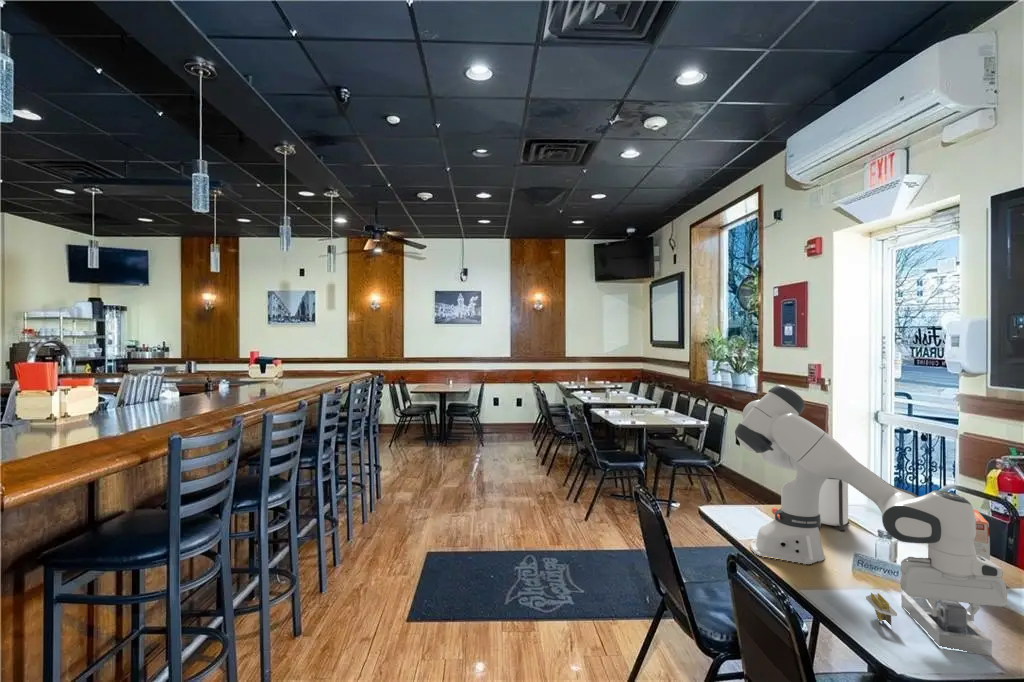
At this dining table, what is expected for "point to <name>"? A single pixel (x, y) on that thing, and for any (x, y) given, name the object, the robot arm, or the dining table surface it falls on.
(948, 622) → the grey rectangular block
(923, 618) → the grey rectangular tray
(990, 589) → the robot arm
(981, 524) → the cracker box
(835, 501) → the coffee press
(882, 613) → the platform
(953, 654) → the dining table surface
